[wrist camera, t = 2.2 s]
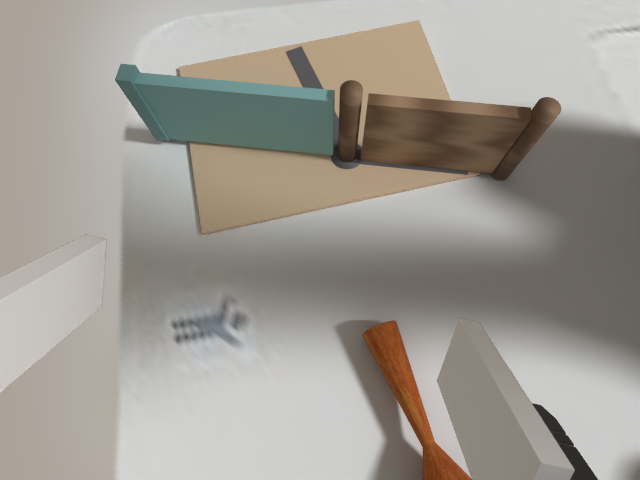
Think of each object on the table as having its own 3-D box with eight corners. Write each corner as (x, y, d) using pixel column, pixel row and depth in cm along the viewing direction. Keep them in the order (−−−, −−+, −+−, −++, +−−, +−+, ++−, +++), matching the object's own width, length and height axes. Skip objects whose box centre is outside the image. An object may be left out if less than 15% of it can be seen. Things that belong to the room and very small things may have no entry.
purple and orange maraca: (418, 308, 37) (544, 573, 29) (398, 327, 42) (500, 557, 34) (356, 329, 36) (471, 615, 28) (343, 346, 41) (437, 591, 33)
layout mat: (418, 22, 53) (419, 19, 53) (478, 175, 46) (480, 172, 45) (180, 69, 51) (178, 66, 51) (202, 234, 44) (201, 233, 44)
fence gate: (334, 143, 46) (335, 82, 37) (332, 157, 46) (332, 99, 37) (160, 126, 48) (120, 64, 39) (156, 140, 47) (115, 79, 38)
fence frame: (508, 164, 46) (560, 98, 36) (509, 181, 45) (561, 118, 35) (338, 148, 47) (341, 79, 37) (336, 163, 47) (338, 98, 36)
